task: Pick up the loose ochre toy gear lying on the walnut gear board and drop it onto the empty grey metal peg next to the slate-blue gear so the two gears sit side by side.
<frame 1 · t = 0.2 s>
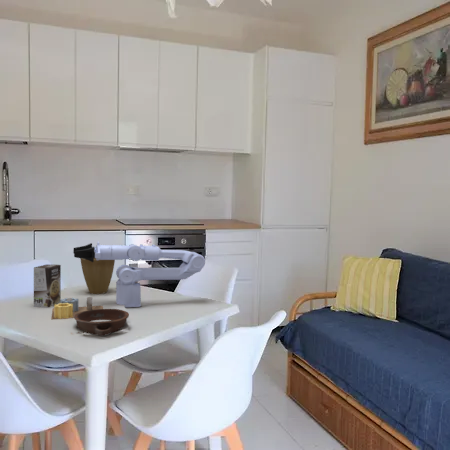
hand: (73, 252, 183), 22 cm above the table, tool horizontal, fingers open, 7 cm apart
plant pot: (97, 293, 214), on the table
dish: (101, 330, 159), on the table
gear board: (78, 315, 175), on the table
ochre gear: (63, 316, 169), point 1 cm above the table, touching gear board
coffee box: (47, 307, 186), on the table
slate gear: (69, 310, 177), resting on gear board
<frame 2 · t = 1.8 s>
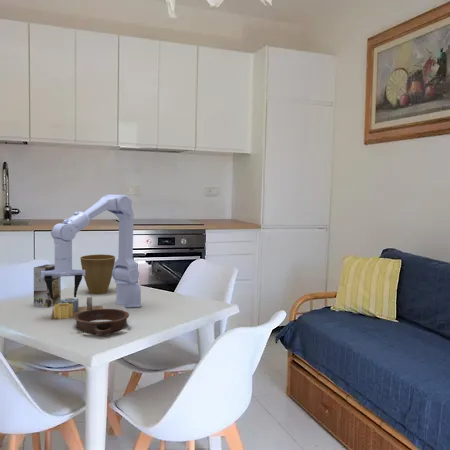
hand: (63, 297, 168), 8 cm above the table, tool pointing down, fingers open, 7 cm apart
nothing on the table moved.
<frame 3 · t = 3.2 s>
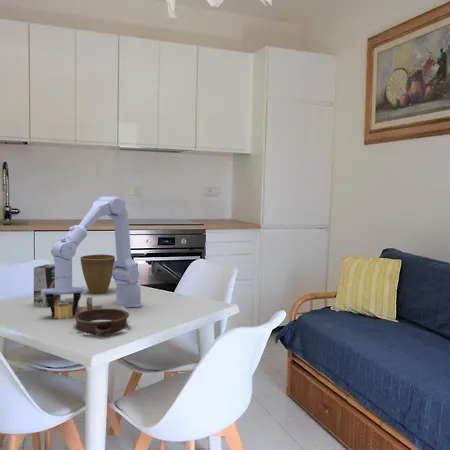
hand: (63, 314, 169), 2 cm above the table, tool pointing down, fingers closed on ochre gear, 6 cm apart
ochre gear: (63, 316, 169), point 1 cm above the table, touching gear board, gripper
everything else where it was.
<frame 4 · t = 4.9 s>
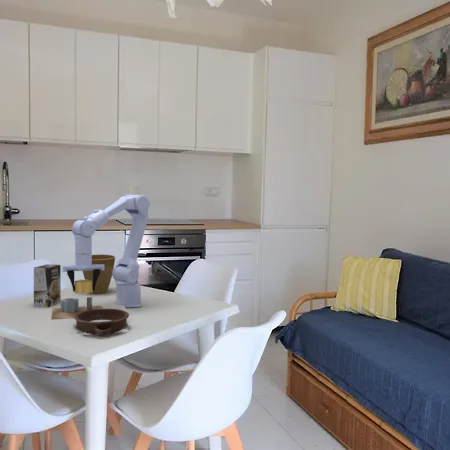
hand: (83, 290, 176), 9 cm above the table, tool pointing down, fingers closed on ochre gear, 6 cm apart
ochre gear: (83, 291, 176), point 8 cm above the table, touching gripper
everything else where it was.
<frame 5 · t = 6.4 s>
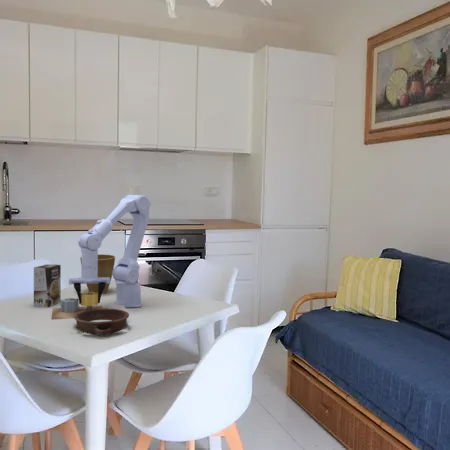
hand: (89, 303, 179), 4 cm above the table, tool pointing down, fingers closed on ochre gear, 6 cm apart
ochre gear: (89, 304, 179), point 3 cm above the table, touching gripper
everything else where it was.
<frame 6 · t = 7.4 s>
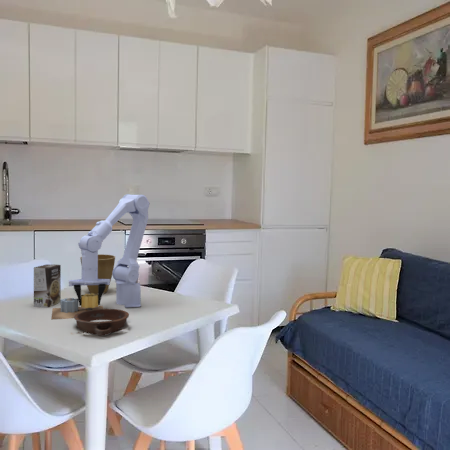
hand: (89, 304, 179), 3 cm above the table, tool pointing down, fingers closed on ochre gear, 6 cm apart
ochre gear: (89, 306, 179), point 3 cm above the table, touching gripper
everything else where it was.
when the fingers open (3 cm above the table, at t = 8.0 s): ochre gear drops 2 cm, resting on gear board.
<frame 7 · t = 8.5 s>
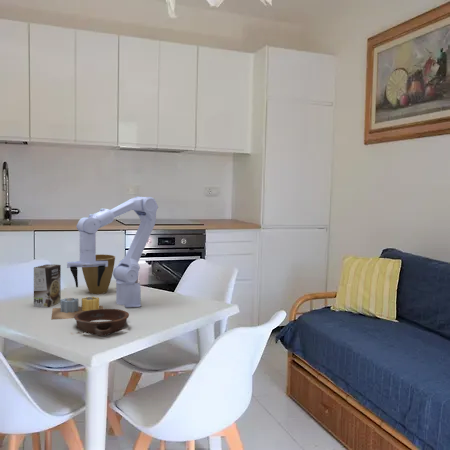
hand: (87, 286, 180), 10 cm above the table, tool pointing down, fingers open, 7 cm apart
ochre gear: (90, 309, 179), point 1 cm above the table, touching gear board
everything else where it was.
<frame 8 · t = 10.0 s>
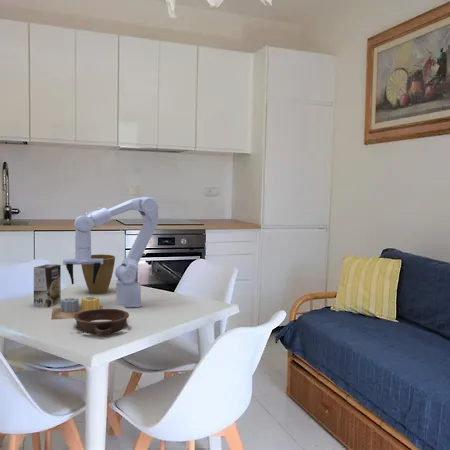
hand: (83, 283, 183), 10 cm above the table, tool pointing down, fingers open, 7 cm apart
nothing on the table moved.
at the end: ochre gear 0.5 cm from the target spot, point 1.2 cm above the table; ochre gear tilted 0°; the gripper is holding nothing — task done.
